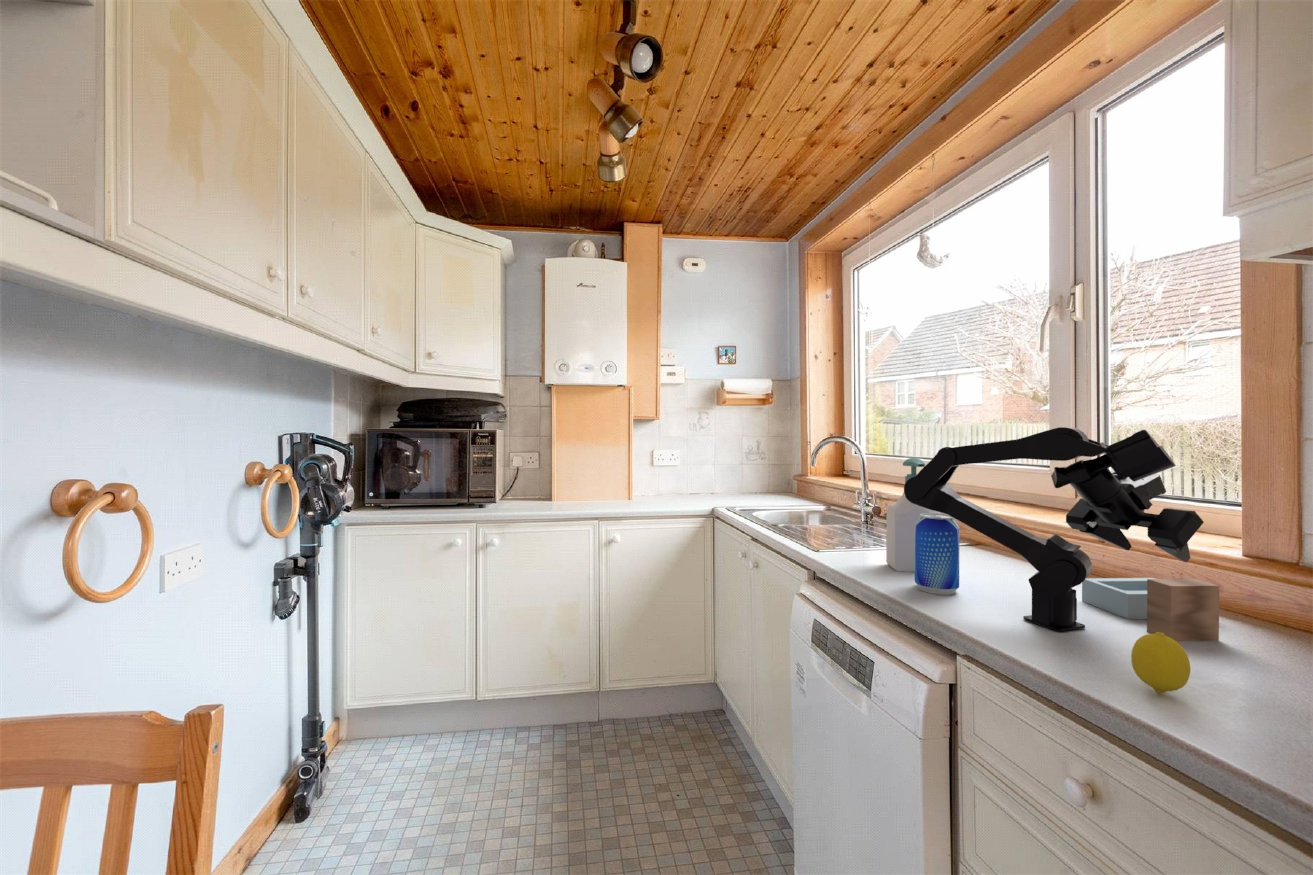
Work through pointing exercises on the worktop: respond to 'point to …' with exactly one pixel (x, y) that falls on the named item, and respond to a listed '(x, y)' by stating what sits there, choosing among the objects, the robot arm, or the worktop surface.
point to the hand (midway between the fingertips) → (1156, 553)
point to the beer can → (937, 554)
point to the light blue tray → (1117, 595)
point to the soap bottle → (903, 526)
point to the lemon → (1160, 662)
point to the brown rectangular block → (1183, 609)
